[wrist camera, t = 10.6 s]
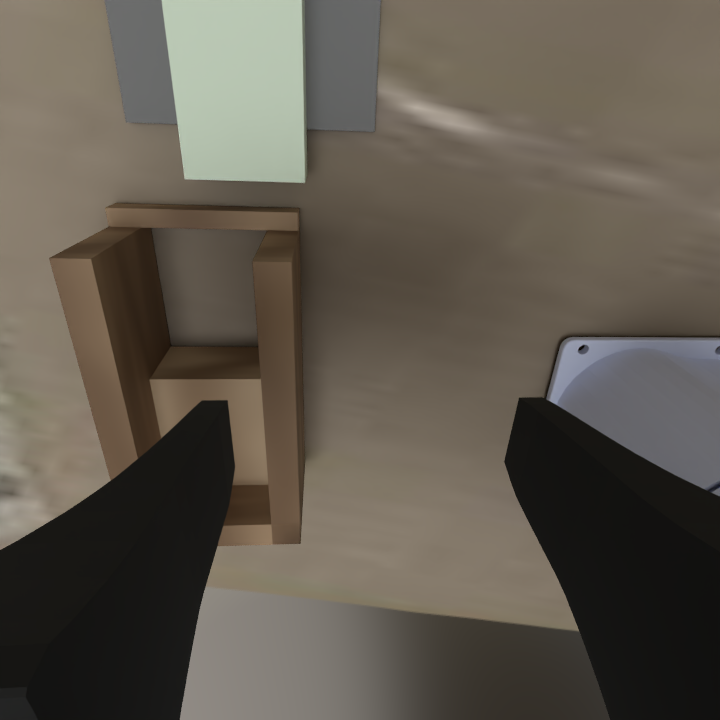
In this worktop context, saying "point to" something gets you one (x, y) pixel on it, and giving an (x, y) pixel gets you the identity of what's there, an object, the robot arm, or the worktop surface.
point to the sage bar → (239, 88)
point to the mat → (322, 53)
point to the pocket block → (194, 357)
